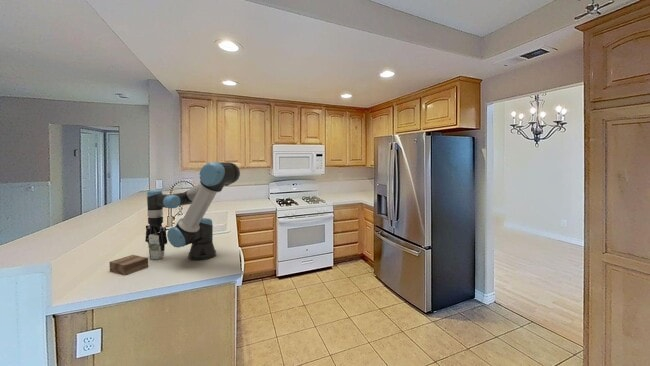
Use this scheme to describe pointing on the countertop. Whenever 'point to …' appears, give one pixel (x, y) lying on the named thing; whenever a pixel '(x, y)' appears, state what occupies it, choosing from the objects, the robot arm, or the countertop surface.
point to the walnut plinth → (128, 264)
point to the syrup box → (154, 247)
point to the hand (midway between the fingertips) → (156, 254)
